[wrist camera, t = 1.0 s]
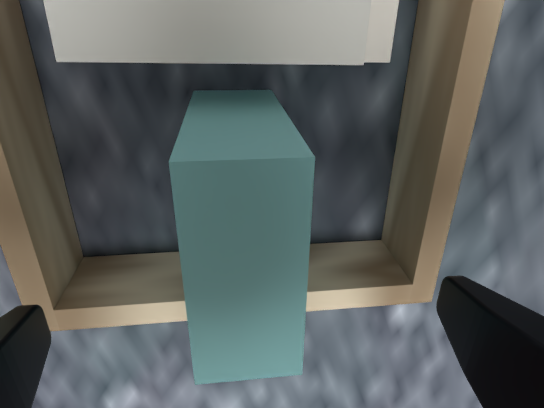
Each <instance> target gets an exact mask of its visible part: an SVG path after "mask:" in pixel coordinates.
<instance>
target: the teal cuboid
mask: <svg viewBox="0 0 544 408" xmlns="http://www.w3.org/2000/svg"><path fill="white" fill-rule="evenodd" d="M314 169H315V156H314V155H313V153H312V152H311V150H310V148H309V147H308V145H307V144H306V142H305V141H304V139H303V138H302V136H301V135H300V133H299V132H298V130H297V129H296V127H295V126H294V124H293V122H292V121H291V119H290V118H289V116H288V115H287V113H286V112H285V110H284V109H283V107H282V106H281V104H280V103H279V101H278V100H277V98H276V96H275V95H274V93H273V92H272V90H208V91H193V94H192V97H191V100H190V103H189V105H188V108H187V111H186V114H185V117H184V120H183V123H182V125H181V128H180V131H179V134H178V137H177V140H176V142H175V145H174V148H173V151H172V154H171V157H170V159H169V170H170V178H171V187H172V195H173V204H174V212H175V221H176V229H177V237H178V246H179V254H180V263H181V271H182V280H183V288H184V297H185V305H186V313H187V322H188V330H189V339H190V347H191V356H192V364H193V373H194V381H195V385H198V384H209V383H219V382H230V381H240V380H251V379H261V378H272V377H282V376H293V375H302V368H303V352H304V335H305V318H306V302H307V285H308V269H309V252H310V235H311V219H312V202H313V185H314Z"/></svg>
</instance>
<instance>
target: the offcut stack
mask: <svg viewBox="0 0 544 408" xmlns="http://www.w3.org/2000/svg"><path fill="white" fill-rule="evenodd" d="M43 1H44V6H45V11H46V15H47V20H48V25H49V29H50V34H51V39H52V44H53V48H54V53H55V58H56V62H109V63H204V64H300V65H364V62H380V63H390V58H391V51H392V45H393V38H394V31H395V24H396V18H397V11H398V4H399V0H43Z"/></svg>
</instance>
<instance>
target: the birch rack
mask: <svg viewBox="0 0 544 408" xmlns="http://www.w3.org/2000/svg"><path fill="white" fill-rule="evenodd" d="M504 1H505V0H419V1H418V8H417V14H416V21H415V27H414V33H413V40H412V46H411V53H410V59H409V65H408V72H407V78H406V85H405V91H404V97H403V104H402V110H401V117H400V123H399V130H398V136H397V142H396V149H395V155H394V162H393V168H392V174H391V181H390V187H389V194H388V200H387V206H386V213H385V219H384V226H383V232H382V239H381V240H371V241H353V242H336V243H319V244H310V252H309V269H308V285H307V302H306V311H319V310H332V309H345V308H358V307H370V306H383V305H396V304H409V303H422V302H431V301H432V297H433V293H434V289H435V285H436V280H437V276H438V272H439V268H440V264H441V260H442V256H443V252H444V248H445V243H446V239H447V235H448V231H449V227H450V223H451V219H452V215H453V211H454V207H455V202H456V198H457V194H458V190H459V186H460V182H461V178H462V174H463V170H464V165H465V161H466V157H467V153H468V149H469V145H470V141H471V137H472V133H473V129H474V124H475V120H476V116H477V112H478V108H479V104H480V100H481V96H482V92H483V87H484V83H485V79H486V75H487V71H488V67H489V63H490V59H491V55H492V51H493V46H494V42H495V38H496V34H497V30H498V26H499V22H500V18H501V14H502V10H503V5H504ZM0 245H1V248H2V250H3V253H4V256H5V259H6V261H7V264H8V267H9V270H10V273H11V275H12V278H13V281H14V284H15V286H16V289H17V292H18V295H19V298H20V300H21V303H22V305H35V304H36V305H40V306H41V307H42V309H43V311H44V314H45V317H46V320H47V323H48V326H49V329H50V331H61V330H74V329H87V328H100V327H112V326H125V325H138V324H151V323H164V322H177V321H187V313H186V305H185V297H184V288H183V280H182V271H181V263H180V254H179V252H164V253H147V254H130V255H112V256H95V257H83V253H82V249H81V245H80V242H79V238H78V234H77V230H76V226H75V222H74V218H73V214H72V210H71V206H70V202H69V198H68V194H67V190H66V186H65V182H64V178H63V174H62V170H61V166H60V162H59V158H58V154H57V150H56V146H55V142H54V138H53V134H52V130H51V126H50V122H49V118H48V114H47V110H46V106H45V102H44V98H43V94H42V90H41V86H40V82H39V78H38V74H37V70H36V66H35V62H34V58H33V54H32V51H31V47H30V43H29V39H28V35H27V31H26V27H25V23H24V19H23V15H22V11H21V7H20V3H19V0H0Z"/></svg>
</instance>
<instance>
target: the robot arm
mask: <svg viewBox="0 0 544 408" xmlns="http://www.w3.org/2000/svg"><path fill="white" fill-rule="evenodd" d="M436 307H437V313H438V316H439V318H440V320H441V323H442V325H443V327H444V329H445V332H446V334H447V336H448V339H449V341H450V343H451V345H452V348H453V350H454V352H455V355H456V357H457V359H458V361H459V364H460V366H461V368H462V370H463V372H464V374H465V376H466V378H467V380H468V382H469V384H470V385H471V387H472V389H473V391H474V392H475V394H476V396H477V398H478V400H479V401H480V403H481V405H482V407H483V408H544V316H542V315H540V314H538V313H536V312H534V311H532V310H530V309H528V308H526V307H524V306H522V305H520V304H518V303H516V302H514V301H512V300H510V299H508V298H506V297H504V296H502V295H500V294H498V293H496V292H494V291H492V290H490V289H488V288H486V287H484V286H482V285H480V284H478V283H476V282H474V281H472V280H470V279H468V278H466V277H464V276H447V277H445V278H444V279H443V281H442V284H441V288H440V292H439V296H438V300H437V306H436ZM50 344H51V332H50V329H49V326H48V323H47V320H46V317H45V314H44V311H43V309H42V307H41V306H40V305H36V304H35V305H21V306H17V307H15V308H14V309H12V310H11V311H9V312H8V313H6V314H5V315H3V316H2V317H0V408H32V405H33V401H34V398H35V395H36V391H37V388H38V385H39V381H40V378H41V375H42V371H43V368H44V364H45V361H46V358H47V354H48V351H49V348H50Z"/></svg>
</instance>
